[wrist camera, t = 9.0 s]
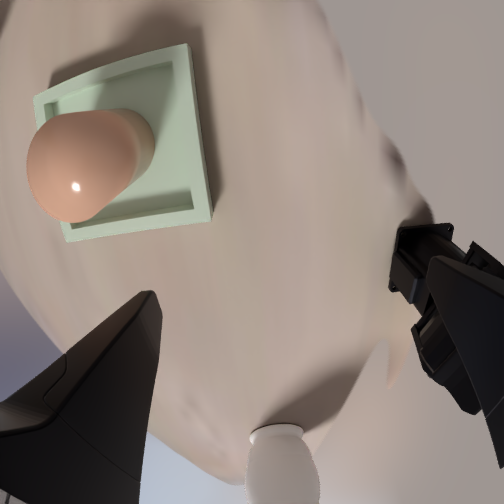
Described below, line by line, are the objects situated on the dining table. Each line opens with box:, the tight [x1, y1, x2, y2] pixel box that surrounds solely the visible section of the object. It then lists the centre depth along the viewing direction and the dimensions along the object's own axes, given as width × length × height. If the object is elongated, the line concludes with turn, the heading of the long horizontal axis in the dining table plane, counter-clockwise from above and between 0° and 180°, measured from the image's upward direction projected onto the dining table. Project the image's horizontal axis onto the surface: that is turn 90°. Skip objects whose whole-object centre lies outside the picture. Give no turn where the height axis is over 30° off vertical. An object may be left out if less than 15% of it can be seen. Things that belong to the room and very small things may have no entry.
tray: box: [33, 43, 213, 243], centre depth 17 cm, size 12×12×2 cm
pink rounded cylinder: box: [27, 108, 155, 223], centre depth 14 cm, size 6×6×7 cm
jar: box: [245, 424, 320, 504], centre depth 31 cm, size 11×10×15 cm
